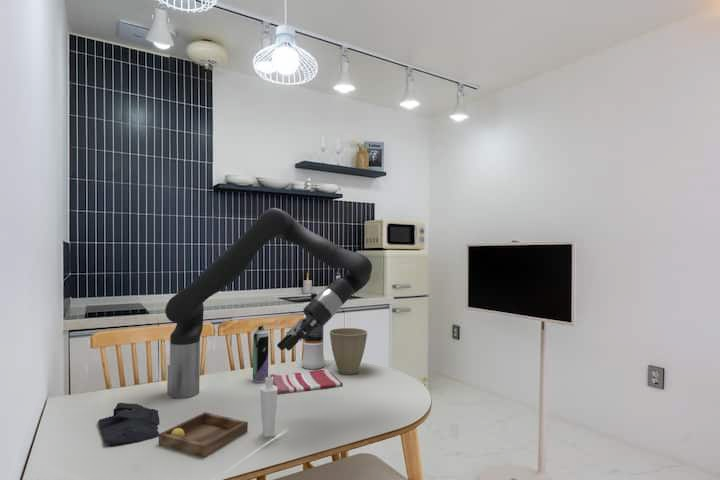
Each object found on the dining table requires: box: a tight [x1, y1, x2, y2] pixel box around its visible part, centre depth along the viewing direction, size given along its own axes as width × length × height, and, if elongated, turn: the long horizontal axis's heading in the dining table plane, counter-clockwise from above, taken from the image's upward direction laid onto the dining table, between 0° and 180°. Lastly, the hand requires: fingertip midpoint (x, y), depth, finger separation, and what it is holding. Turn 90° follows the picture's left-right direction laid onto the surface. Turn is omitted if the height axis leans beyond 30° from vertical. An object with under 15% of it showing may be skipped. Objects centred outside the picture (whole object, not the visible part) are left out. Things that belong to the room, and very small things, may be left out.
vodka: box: [301, 292, 326, 370], centre depth 172 cm, size 9×9×30 cm
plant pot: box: [329, 327, 368, 375], centre depth 166 cm, size 15×15×16 cm
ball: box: [171, 428, 184, 438], centre depth 105 cm, size 3×3×3 cm
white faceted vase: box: [259, 376, 278, 439], centre depth 110 cm, size 5×4×15 cm
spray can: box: [252, 325, 269, 384], centre depth 154 cm, size 6×6×20 cm
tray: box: [158, 411, 249, 459], centre depth 107 cm, size 15×15×3 cm
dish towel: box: [269, 369, 344, 395], centre depth 152 cm, size 17×23×3 cm
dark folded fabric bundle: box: [97, 402, 160, 447], centre depth 113 cm, size 15×22×5 cm
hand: (282, 348), depth 115 cm, fingers open, 8 cm apart
